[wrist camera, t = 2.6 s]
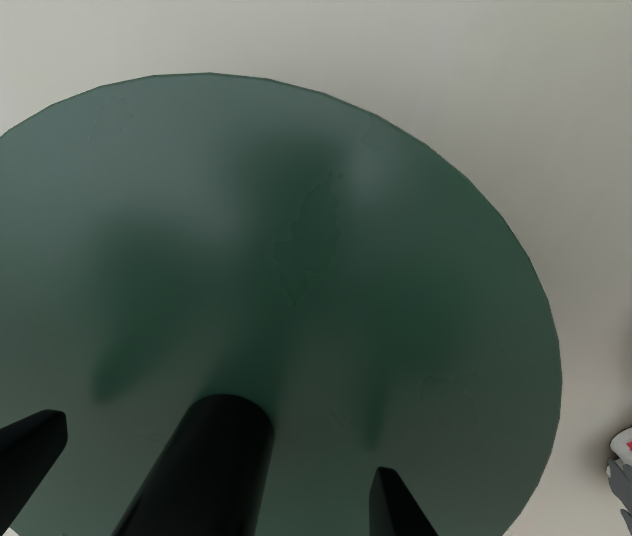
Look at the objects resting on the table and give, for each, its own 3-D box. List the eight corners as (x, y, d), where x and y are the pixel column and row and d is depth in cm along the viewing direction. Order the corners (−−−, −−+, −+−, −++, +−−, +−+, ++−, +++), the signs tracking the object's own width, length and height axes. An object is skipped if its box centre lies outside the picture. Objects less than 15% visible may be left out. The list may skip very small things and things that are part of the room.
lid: (648, 159, 7) (1865, 110, 1) (436, 619, 12) (528, 1006, 6) (-100, 24, 7) (-1845, -572, 1) (-1, 544, 11) (-292, 871, 6)
